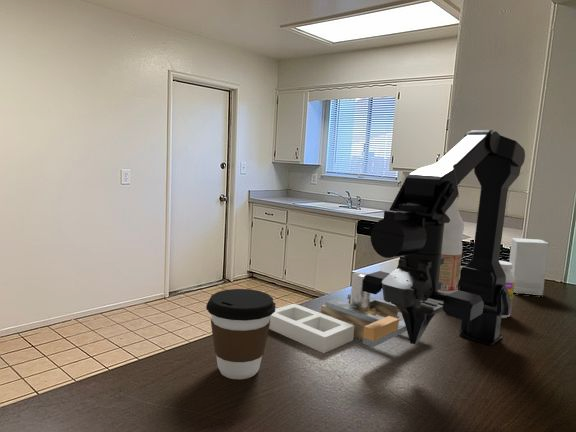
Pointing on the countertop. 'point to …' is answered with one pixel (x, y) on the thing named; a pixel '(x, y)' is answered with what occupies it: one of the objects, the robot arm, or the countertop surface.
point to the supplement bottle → (508, 281)
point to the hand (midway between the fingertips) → (413, 343)
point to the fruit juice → (451, 250)
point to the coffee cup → (240, 330)
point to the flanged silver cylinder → (360, 295)
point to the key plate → (379, 327)
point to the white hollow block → (311, 327)
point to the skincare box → (528, 265)
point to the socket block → (358, 322)
